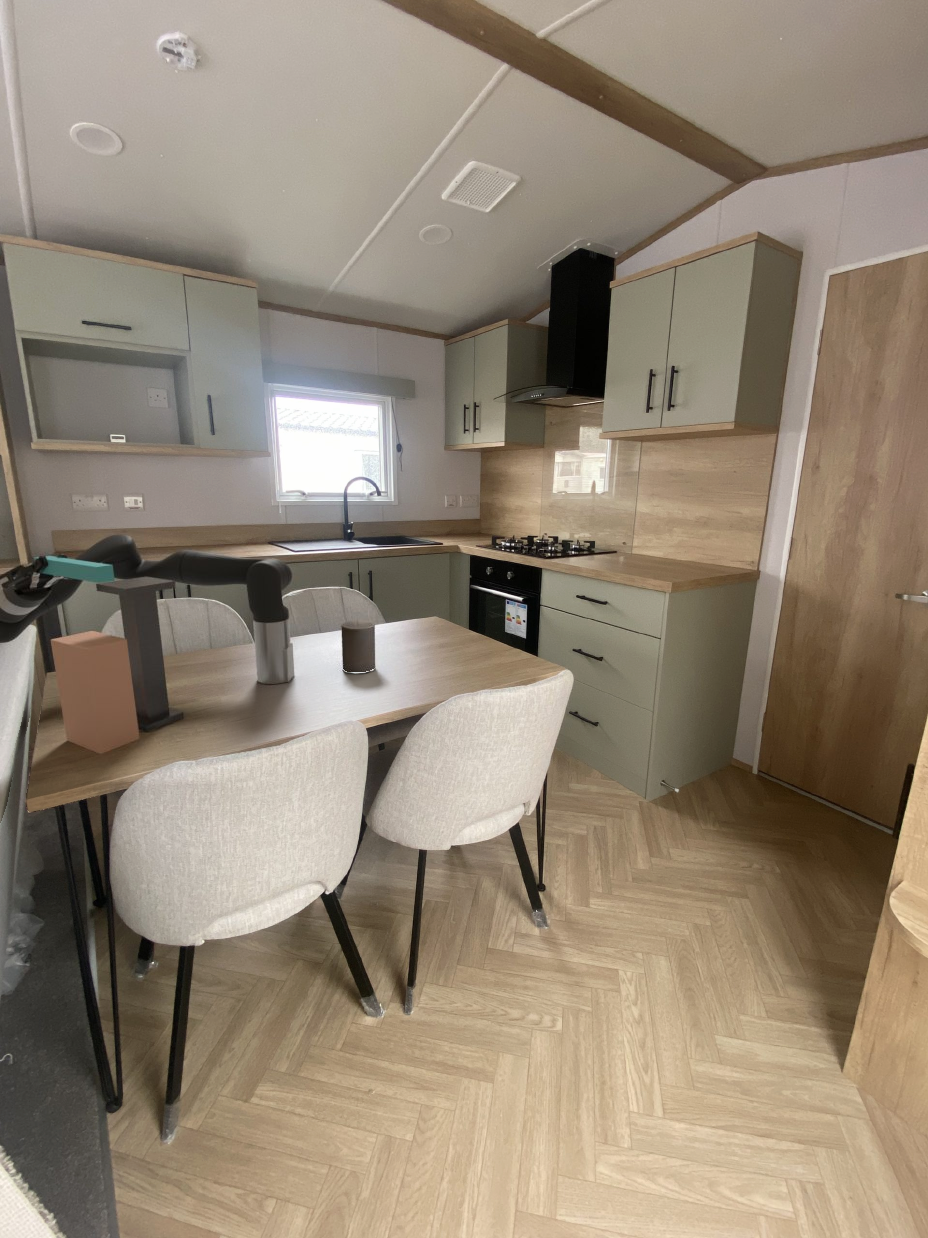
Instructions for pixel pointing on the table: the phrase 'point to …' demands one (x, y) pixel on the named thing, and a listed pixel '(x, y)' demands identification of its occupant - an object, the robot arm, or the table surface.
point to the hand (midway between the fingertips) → (54, 558)
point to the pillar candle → (358, 646)
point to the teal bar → (79, 569)
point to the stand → (144, 648)
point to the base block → (95, 690)
